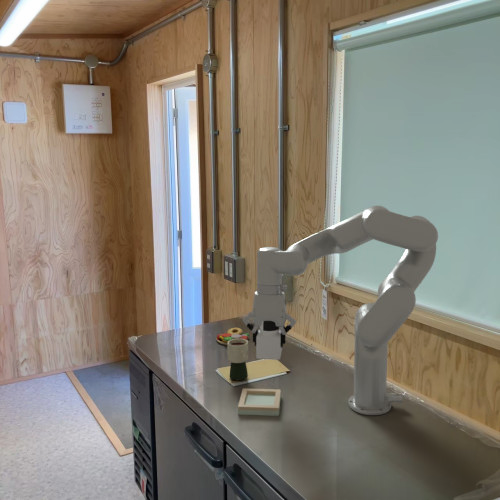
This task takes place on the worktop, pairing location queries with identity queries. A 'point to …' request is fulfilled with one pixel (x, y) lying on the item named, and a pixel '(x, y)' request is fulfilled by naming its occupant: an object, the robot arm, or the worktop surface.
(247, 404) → the beige square tray
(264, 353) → the medicine bottle
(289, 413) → the worktop surface
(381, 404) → the robot arm
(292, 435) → the worktop surface
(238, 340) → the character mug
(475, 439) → the worktop surface
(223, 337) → the toy food set
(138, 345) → the worktop surface
